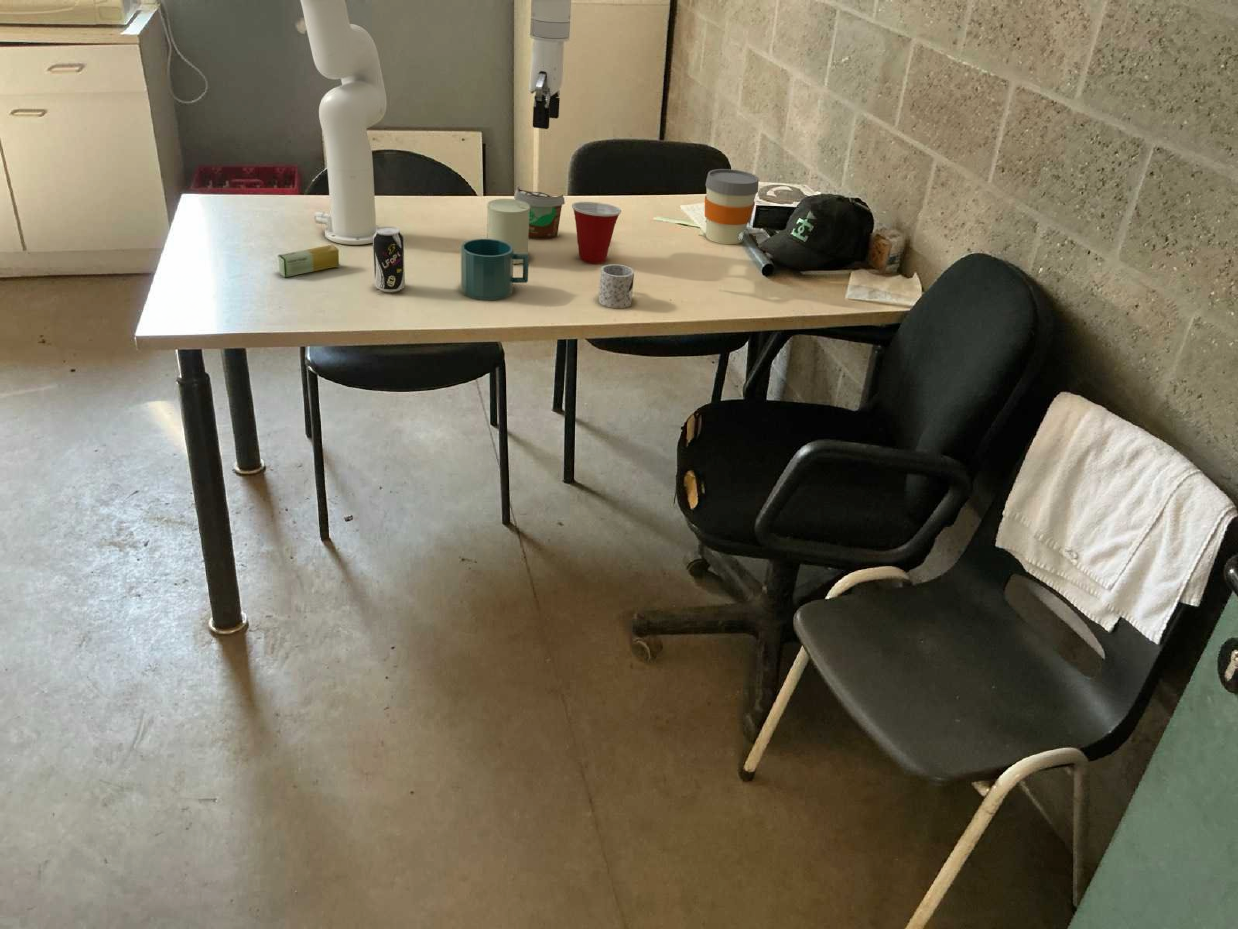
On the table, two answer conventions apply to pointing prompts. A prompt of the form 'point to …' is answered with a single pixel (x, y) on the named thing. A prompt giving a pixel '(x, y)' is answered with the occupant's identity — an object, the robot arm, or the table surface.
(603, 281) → the mug
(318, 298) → the table surface
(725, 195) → the reusable coffee cup
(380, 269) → the beverage can
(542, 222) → the food container
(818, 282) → the table surface
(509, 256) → the mug
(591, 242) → the plastic cup
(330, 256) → the medication box
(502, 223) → the can
